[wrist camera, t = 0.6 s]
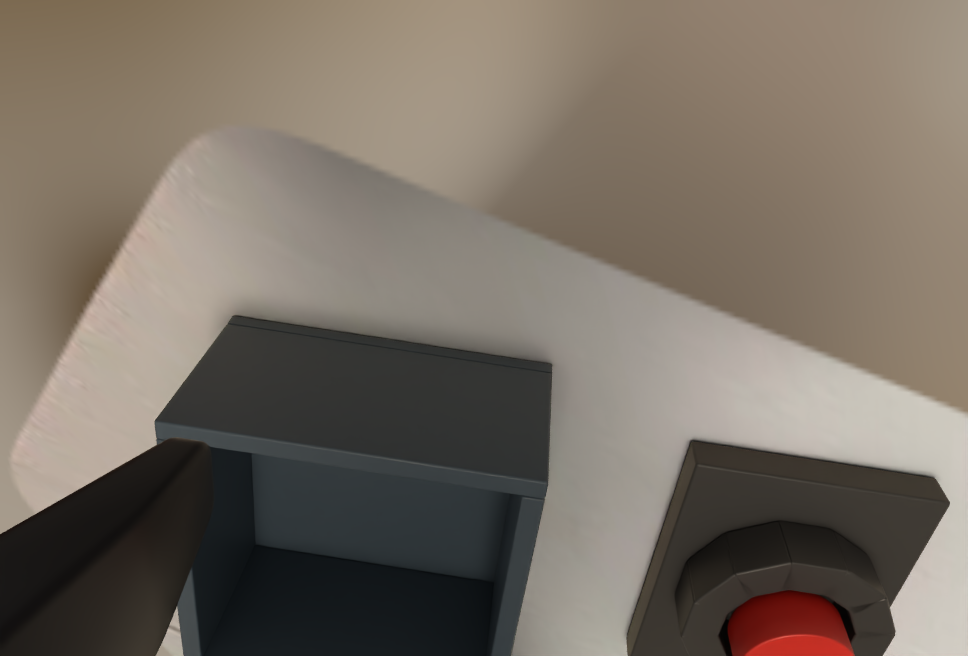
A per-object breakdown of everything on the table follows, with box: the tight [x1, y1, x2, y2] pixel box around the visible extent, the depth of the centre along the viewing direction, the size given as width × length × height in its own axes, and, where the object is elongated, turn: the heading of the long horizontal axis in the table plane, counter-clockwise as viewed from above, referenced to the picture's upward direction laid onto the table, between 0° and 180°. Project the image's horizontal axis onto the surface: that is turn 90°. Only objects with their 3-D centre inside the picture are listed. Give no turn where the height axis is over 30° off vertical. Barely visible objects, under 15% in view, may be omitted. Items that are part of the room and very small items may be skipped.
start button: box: [727, 590, 855, 656], centre depth 25 cm, size 4×4×2 cm
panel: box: [627, 441, 950, 656], centre depth 27 cm, size 10×8×3 cm
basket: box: [155, 316, 552, 656], centre depth 25 cm, size 10×10×6 cm
